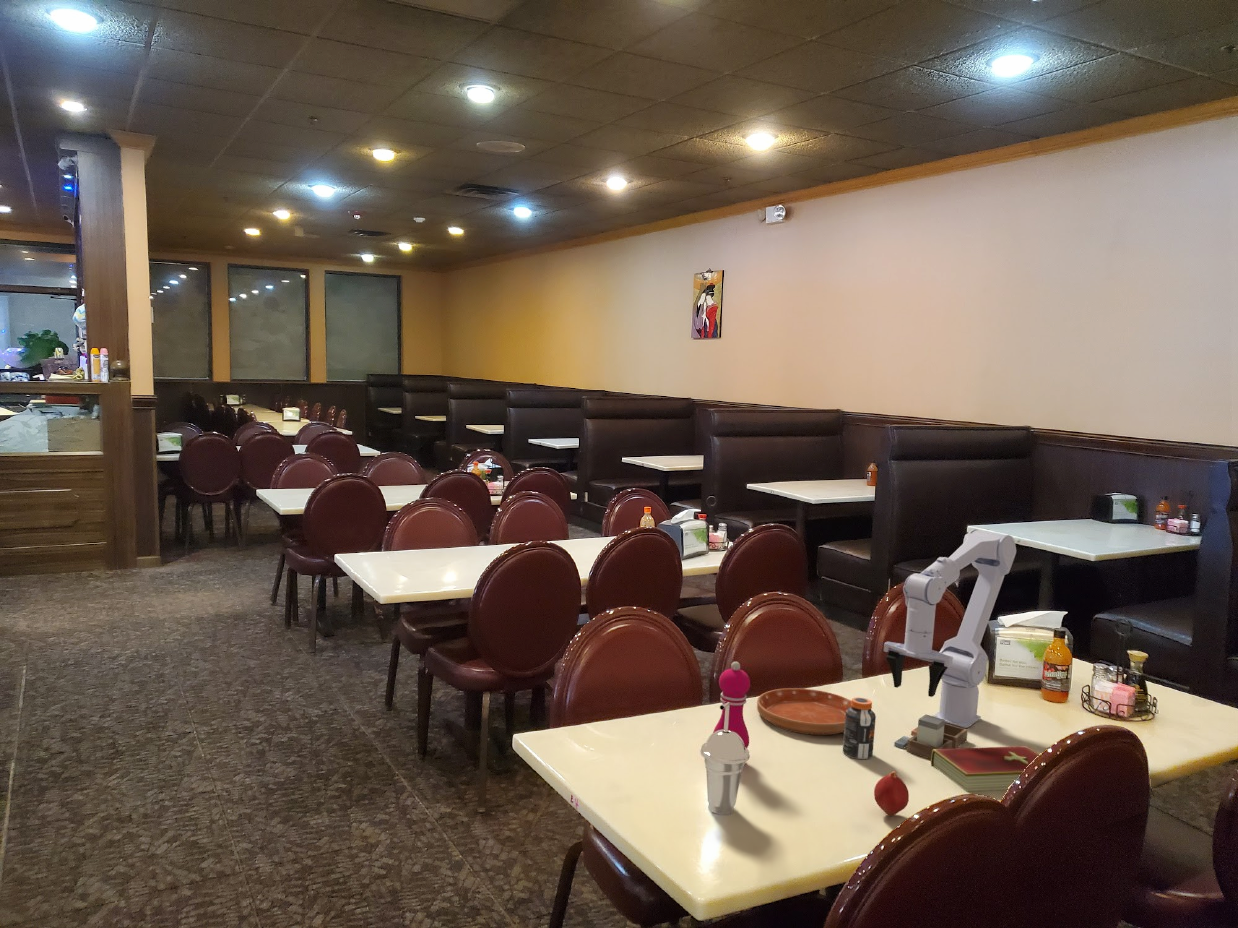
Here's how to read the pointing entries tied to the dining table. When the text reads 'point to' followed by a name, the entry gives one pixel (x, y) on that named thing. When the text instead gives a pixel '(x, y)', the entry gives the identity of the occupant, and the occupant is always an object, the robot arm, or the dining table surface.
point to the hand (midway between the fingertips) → (914, 690)
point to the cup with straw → (724, 766)
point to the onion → (891, 794)
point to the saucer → (804, 710)
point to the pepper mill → (734, 700)
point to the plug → (930, 731)
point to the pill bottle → (859, 729)
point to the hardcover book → (983, 766)
